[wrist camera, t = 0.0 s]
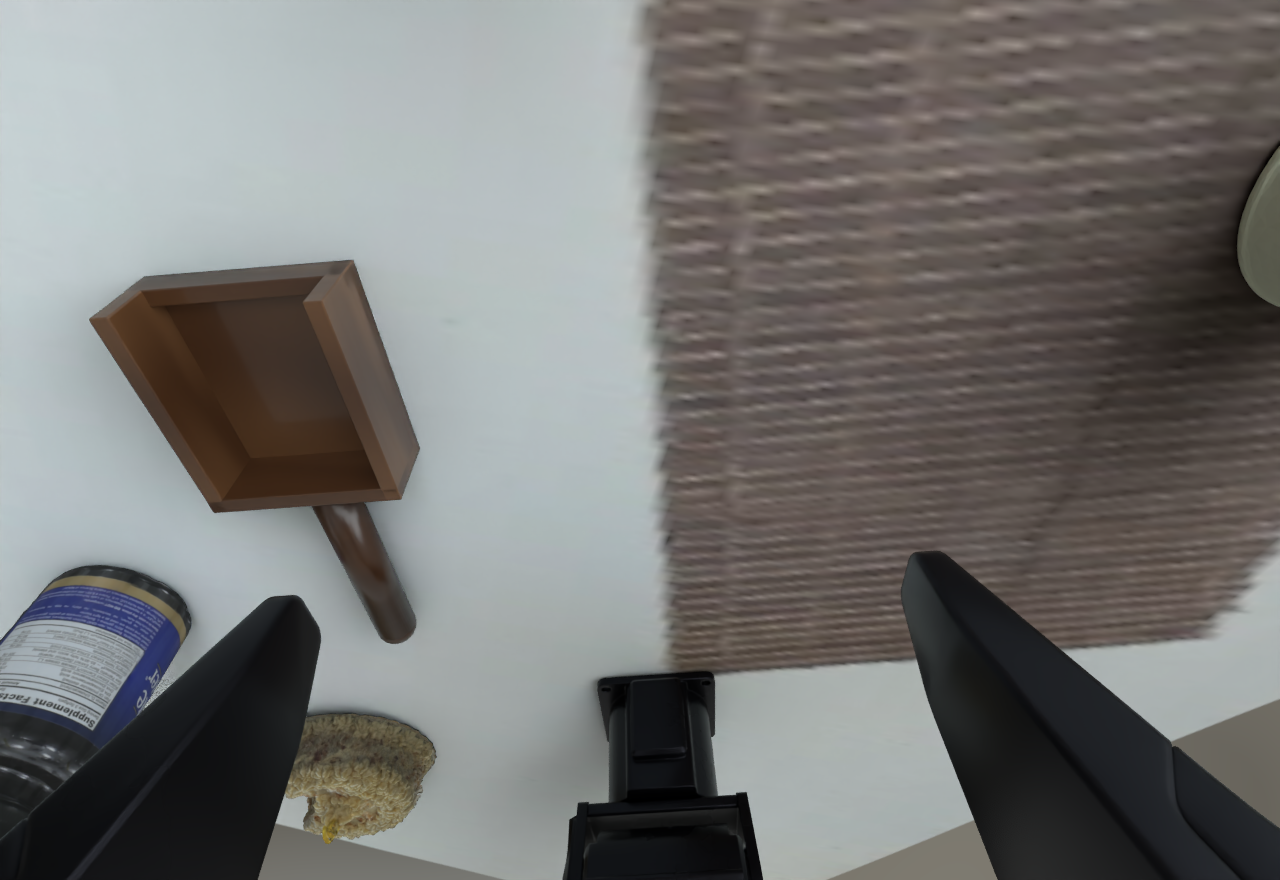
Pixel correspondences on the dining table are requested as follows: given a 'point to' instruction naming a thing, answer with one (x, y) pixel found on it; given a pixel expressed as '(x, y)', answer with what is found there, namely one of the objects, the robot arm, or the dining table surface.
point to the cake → (358, 773)
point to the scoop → (277, 402)
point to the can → (1262, 234)
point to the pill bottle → (79, 675)
